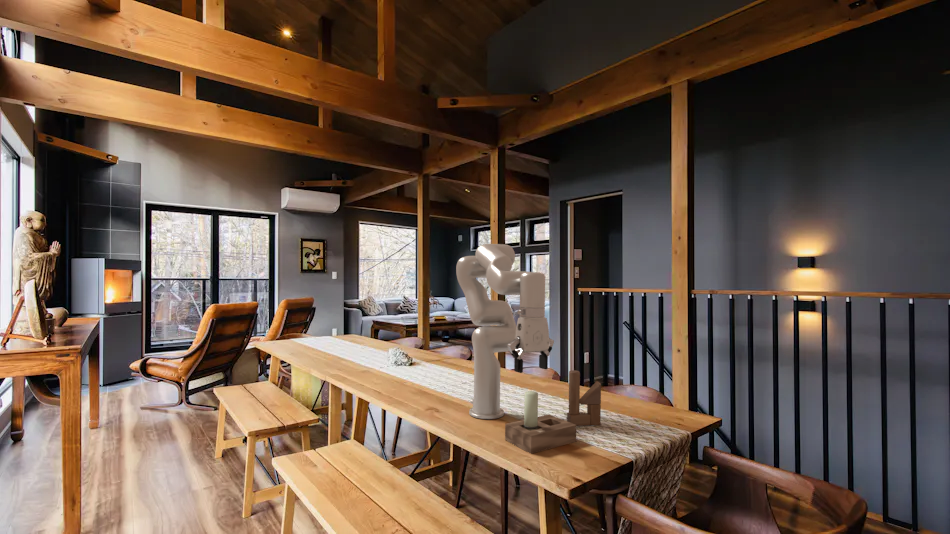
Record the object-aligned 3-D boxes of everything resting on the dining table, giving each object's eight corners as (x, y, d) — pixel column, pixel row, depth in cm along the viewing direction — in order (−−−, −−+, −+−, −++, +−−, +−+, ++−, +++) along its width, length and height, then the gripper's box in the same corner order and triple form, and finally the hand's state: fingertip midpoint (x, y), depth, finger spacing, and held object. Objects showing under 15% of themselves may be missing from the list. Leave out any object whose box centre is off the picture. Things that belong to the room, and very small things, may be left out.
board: (505, 440, 136) (505, 423, 137) (548, 429, 146) (549, 414, 147) (530, 453, 126) (531, 435, 127) (576, 441, 136) (576, 424, 137)
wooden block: (600, 425, 151) (601, 372, 152) (570, 426, 150) (570, 372, 150) (596, 422, 155) (597, 369, 155) (566, 423, 154) (567, 370, 154)
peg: (520, 439, 135) (521, 392, 135) (531, 436, 137) (531, 390, 137) (529, 443, 131) (530, 395, 132) (540, 440, 134) (541, 393, 134)
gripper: (517, 315, 127) (516, 376, 127) (561, 313, 137) (560, 369, 136) (501, 313, 133) (500, 370, 133) (545, 311, 143) (544, 365, 143)
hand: (531, 370), depth 135 cm, fingers open, 9 cm apart
